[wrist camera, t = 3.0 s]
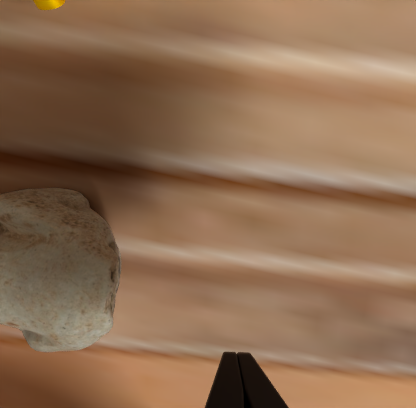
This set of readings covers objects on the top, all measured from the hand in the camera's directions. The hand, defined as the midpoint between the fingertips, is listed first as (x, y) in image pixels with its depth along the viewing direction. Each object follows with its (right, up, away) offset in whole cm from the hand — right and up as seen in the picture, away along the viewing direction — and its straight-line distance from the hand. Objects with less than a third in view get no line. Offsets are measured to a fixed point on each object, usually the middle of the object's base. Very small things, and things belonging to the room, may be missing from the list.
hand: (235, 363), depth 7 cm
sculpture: (-12, +3, +6) cm, 13 cm away
